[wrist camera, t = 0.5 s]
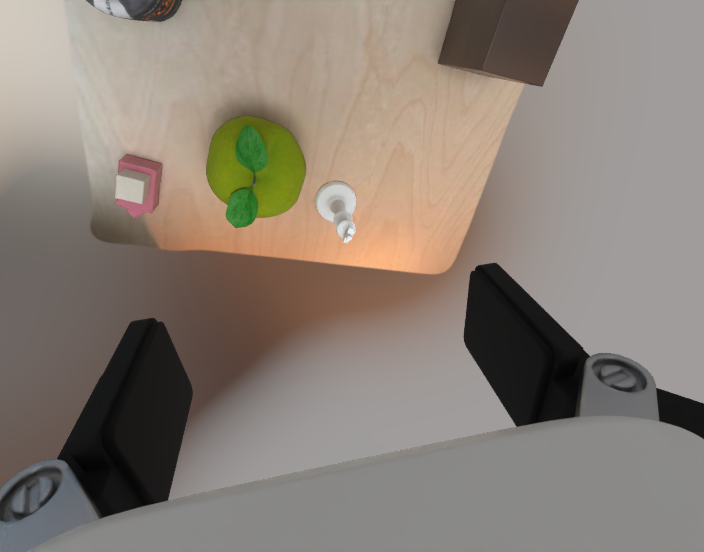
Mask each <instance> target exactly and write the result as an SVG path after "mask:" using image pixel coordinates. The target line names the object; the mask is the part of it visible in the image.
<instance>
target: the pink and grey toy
mask: <svg viewBox="0 0 704 552" xmlns="http://www.w3.org/2000/svg"><path fill="white" fill-rule="evenodd" d="M161 173H162V164H160V163H157V162H153V161H149V160H146V159H142V158H138V157H135V156H131V155H126V156H124V157H123V158H122V159H121V160H119V169H118V174H117V175H116V192H115V198H117V203H116V204H117V205H119V206H123V207H125V209H126V210H127V211H128V212H129V213H130V214H131V215H132V216H133V217H134V218H136V217H138V216H140V215H141V214H143V213H145V212H149V213H152V212H153V211H154V210H155V208H156V207H157V205H158V199H159V190H160V182H161Z"/></svg>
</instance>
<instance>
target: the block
mask: <svg viewBox="0 0 704 552" xmlns="http://www.w3.org/2000/svg"><path fill="white" fill-rule="evenodd" d="M578 1H579V0H456V3H455V6H454V10H453V13H452V17H451V20H450V24H449V27H448V31H447V34H446V38H445V41H444V45H443V48H442V52H441V55H440V59H439V62H438V63H439V64H442V65H445V66H449V67H453V68H457V69H461V70H465V71H469V72H472V73H476V74H480V75H484V76H488V77H493V78H499V79H504V80H509V81H514V82H520V83H525V84H530V85H536V86H543V84H544V81H545V79H546V77H547V74H548V72H549V69H550V67H551V65H552V62H553V60H554V58H555V55H556V53H557V50H558V48H559V46H560V43H561V41H562V39H563V36H564V34H565V31H566V29H567V27H568V24H569V22H570V20H571V17H572V15H573V13H574V10H575V8H576V5H577V3H578Z"/></svg>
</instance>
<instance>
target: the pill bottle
mask: <svg viewBox="0 0 704 552" xmlns="http://www.w3.org/2000/svg"><path fill="white" fill-rule="evenodd" d="M86 1H88V2H89V3H90V4H91V5H93V6H94V7H95V8H97V9H99V10H101V11H102V12H104V13H107V14H109V15H112V16H115V17H120V18H125V19H132V20H140V21H148V22H161V21H165V20H167V19H169V18H170V17H172V16H173V15H174V14H175V13H176V12H177V10H178V8H179V6H180V5H181V1H182V0H86Z"/></svg>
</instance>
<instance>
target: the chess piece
mask: <svg viewBox="0 0 704 552" xmlns="http://www.w3.org/2000/svg"><path fill="white" fill-rule="evenodd" d="M315 204H316V208H317V210H318V212H319V213H320V215H321V216H322V217H323V218H325V219H326V220H328V221H332V222H333V224H334V225H335V227H337V228H336V231H337V234H338V235H339V236H340V237H342V238H343V242H344V243H348V241H351V239H352V236H353V235H354V233H355V231H356V227H355V224H354V223H353V222H352V215H351V214H352V213H353V212H354V210H355V207H356V196H355V193H354V191H353V189H352V188H351V187H350V186H349V185H347V184H346V183H343V182H339V181H335V182H330V183H327V184H325V185H324V186H323V187H322V188H321V189H320V190H319V191H318V193H317V195H316V200H315Z"/></svg>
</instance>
